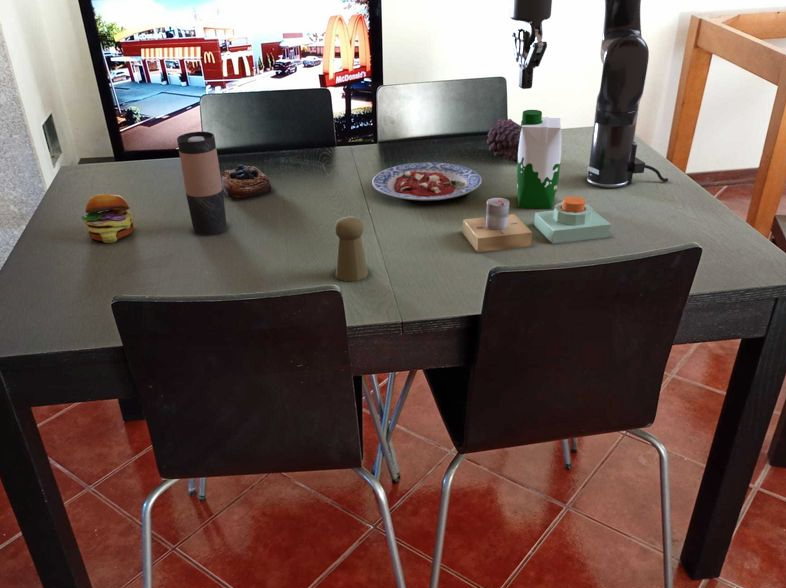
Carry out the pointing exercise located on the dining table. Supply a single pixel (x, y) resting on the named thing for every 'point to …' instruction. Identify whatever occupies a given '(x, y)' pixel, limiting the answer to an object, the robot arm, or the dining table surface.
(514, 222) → the panel
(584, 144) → the dining table surface
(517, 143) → the purple grape bunch
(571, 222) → the button base
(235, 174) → the pastry
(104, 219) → the cheeseburger
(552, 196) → the milk carton
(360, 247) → the wooden pawn
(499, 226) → the dial
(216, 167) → the travel mug
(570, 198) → the orange button cap
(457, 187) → the ceramic plate
